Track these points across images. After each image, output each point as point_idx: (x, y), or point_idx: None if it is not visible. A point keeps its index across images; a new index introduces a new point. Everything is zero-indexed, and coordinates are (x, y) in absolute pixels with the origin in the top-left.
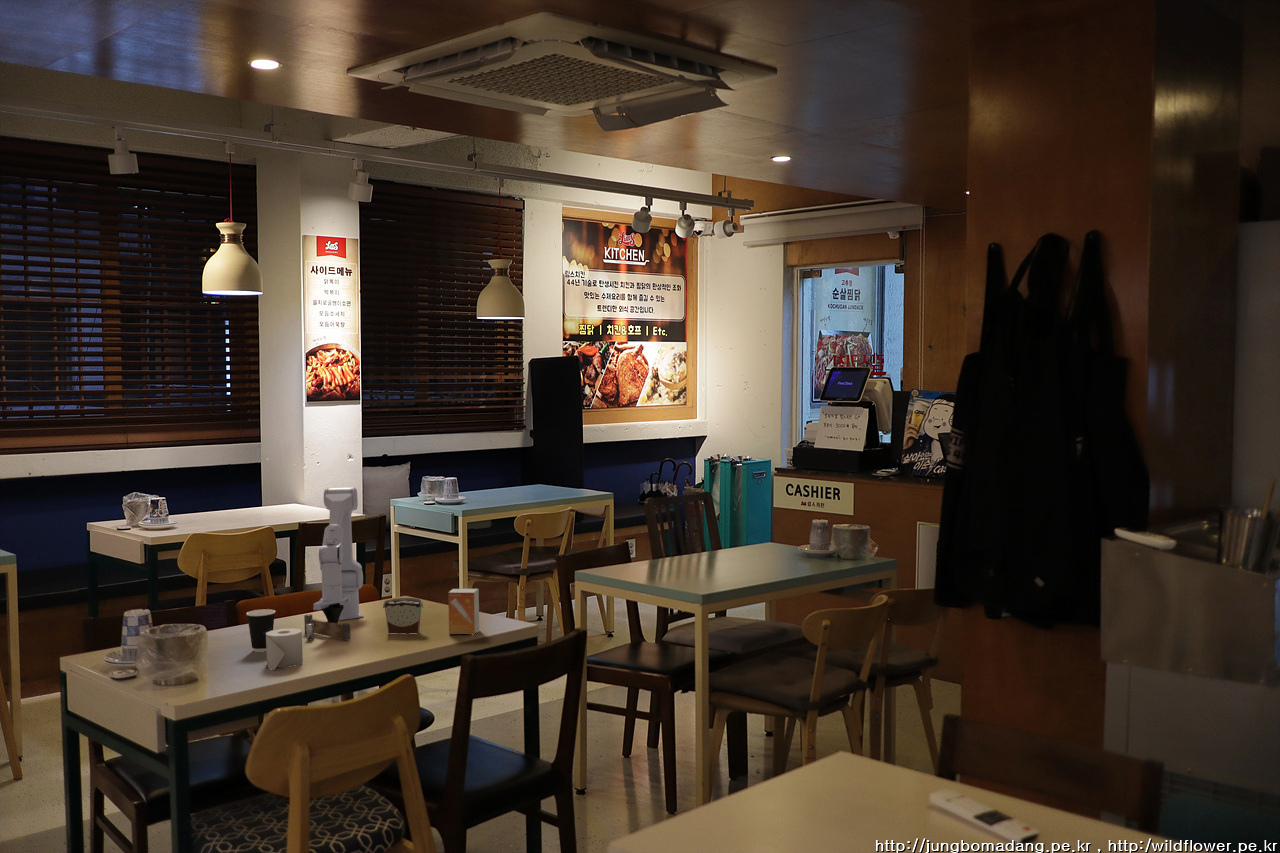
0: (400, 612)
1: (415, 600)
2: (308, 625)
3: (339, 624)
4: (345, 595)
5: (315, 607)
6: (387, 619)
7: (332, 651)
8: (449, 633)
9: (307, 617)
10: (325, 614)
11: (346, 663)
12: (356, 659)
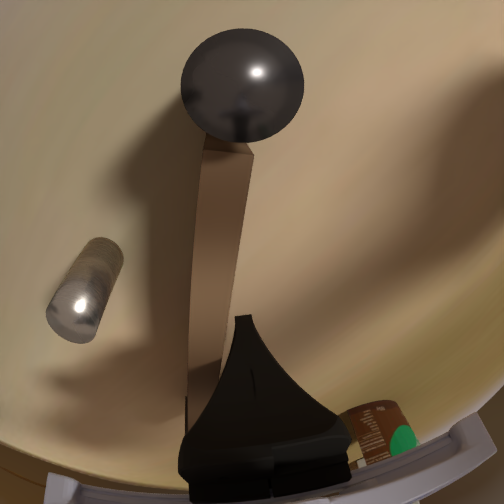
0: None
1: None
2: (54, 327)
3: None
4: (460, 476)
5: (57, 496)
6: (362, 450)
7: (83, 423)
8: (357, 463)
9: (192, 117)
10: (208, 408)
11: (72, 461)
12: (99, 465)
